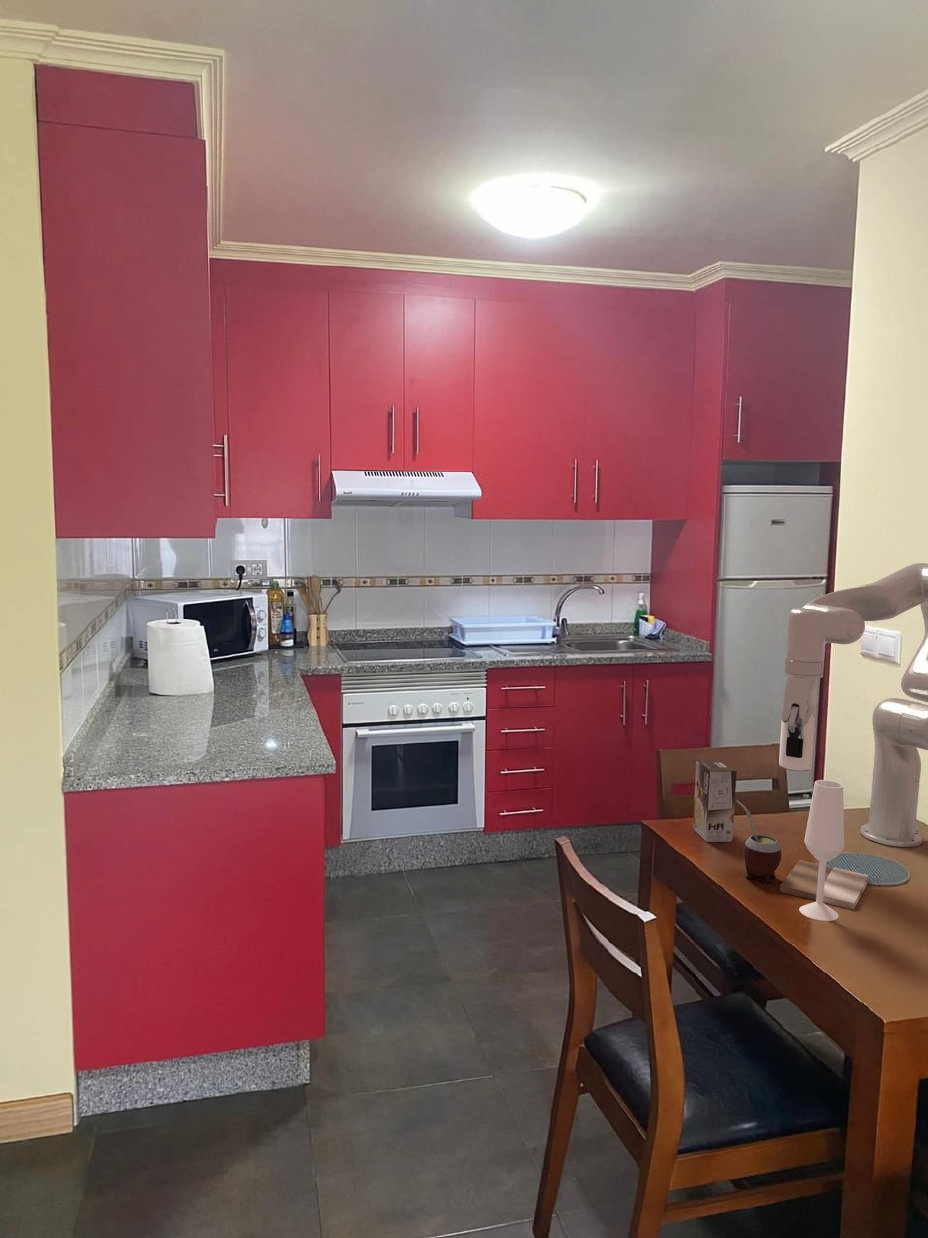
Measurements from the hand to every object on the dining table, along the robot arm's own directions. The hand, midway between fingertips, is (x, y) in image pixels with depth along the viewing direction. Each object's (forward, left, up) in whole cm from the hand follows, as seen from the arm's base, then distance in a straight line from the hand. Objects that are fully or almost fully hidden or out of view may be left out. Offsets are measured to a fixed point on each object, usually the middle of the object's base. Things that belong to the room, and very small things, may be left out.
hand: (798, 752), depth 188 cm
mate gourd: (+16, -3, -23) cm, 28 cm away
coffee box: (-2, -18, -23) cm, 29 cm away
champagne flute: (+26, +11, -23) cm, 36 cm away
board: (+13, +9, -22) cm, 27 cm away
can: (0, 0, -3) cm, 3 cm away
